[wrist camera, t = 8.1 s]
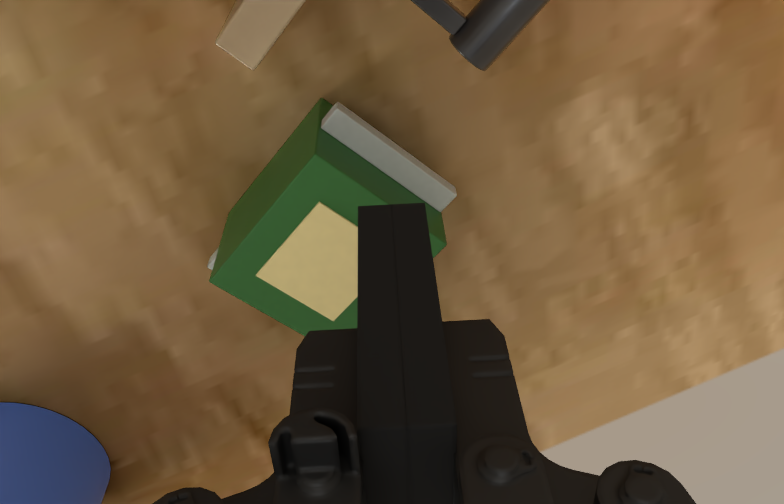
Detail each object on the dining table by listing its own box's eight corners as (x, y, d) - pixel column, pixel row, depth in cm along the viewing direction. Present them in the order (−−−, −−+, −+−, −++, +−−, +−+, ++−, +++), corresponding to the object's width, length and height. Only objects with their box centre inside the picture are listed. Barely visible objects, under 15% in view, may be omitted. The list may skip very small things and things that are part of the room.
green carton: (326, 295, 34) (321, 371, 30) (215, 228, 32) (193, 300, 28) (452, 163, 31) (466, 228, 26) (336, 77, 28) (332, 133, 24)
